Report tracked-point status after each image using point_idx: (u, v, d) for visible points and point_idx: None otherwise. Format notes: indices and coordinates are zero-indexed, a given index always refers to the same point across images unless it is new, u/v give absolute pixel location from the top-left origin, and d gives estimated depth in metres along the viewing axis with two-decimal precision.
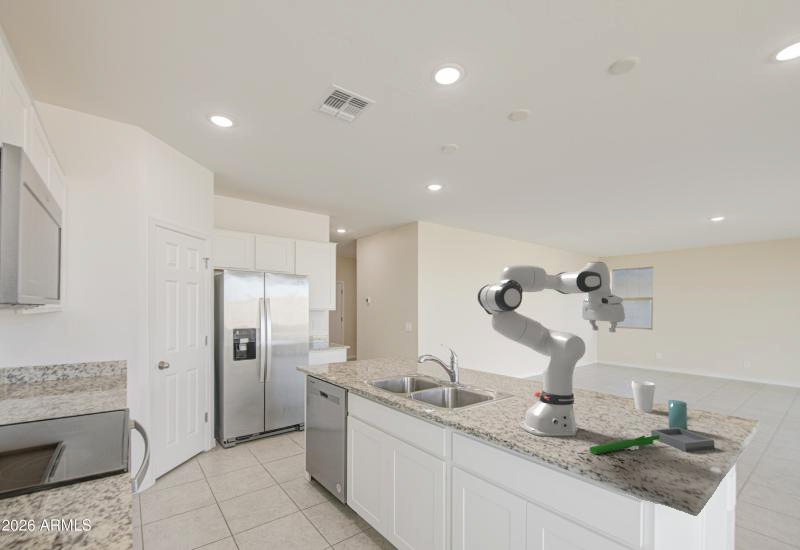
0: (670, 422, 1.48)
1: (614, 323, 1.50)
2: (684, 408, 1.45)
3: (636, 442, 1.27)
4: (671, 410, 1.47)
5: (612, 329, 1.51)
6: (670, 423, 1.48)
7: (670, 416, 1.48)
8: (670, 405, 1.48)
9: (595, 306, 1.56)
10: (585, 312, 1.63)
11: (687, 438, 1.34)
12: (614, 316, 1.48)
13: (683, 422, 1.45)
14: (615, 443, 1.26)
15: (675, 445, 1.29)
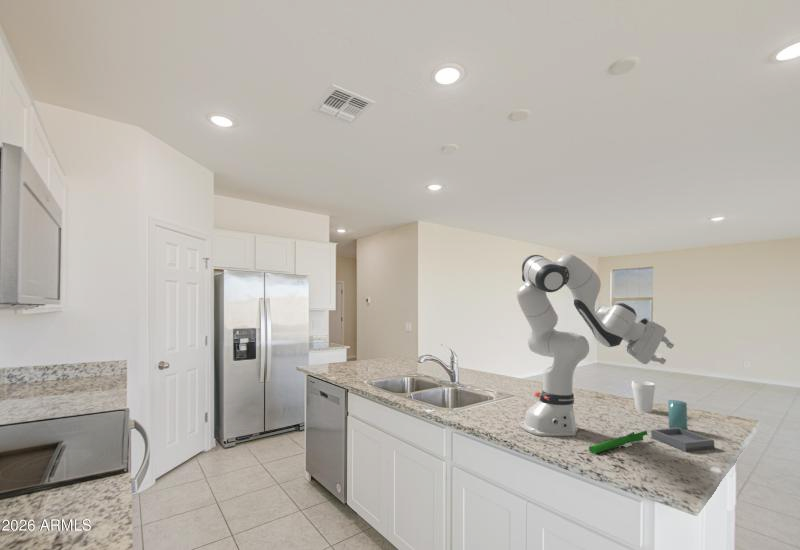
0: (670, 422, 1.48)
1: None
2: (684, 408, 1.45)
3: (629, 439, 1.30)
4: (671, 410, 1.47)
5: None
6: (670, 423, 1.48)
7: (670, 416, 1.48)
8: (670, 405, 1.48)
9: (645, 333, 1.48)
10: (644, 352, 1.44)
11: (687, 438, 1.34)
12: (660, 328, 1.51)
13: (683, 422, 1.45)
14: (611, 441, 1.27)
15: (675, 445, 1.29)
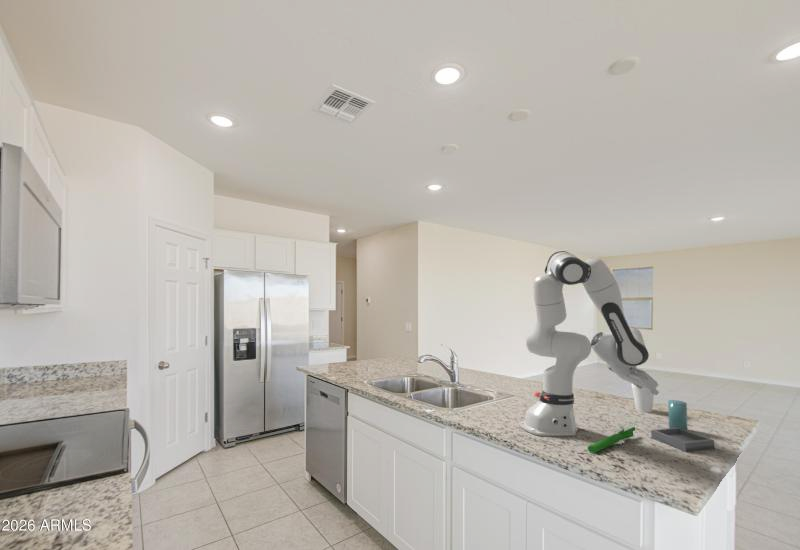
0: (670, 422, 1.48)
1: None
2: (684, 408, 1.45)
3: (622, 436, 1.33)
4: (671, 410, 1.47)
5: None
6: (670, 423, 1.48)
7: (670, 416, 1.48)
8: (670, 405, 1.48)
9: None
10: None
11: (687, 438, 1.34)
12: None
13: (683, 422, 1.45)
14: (607, 439, 1.29)
15: (675, 445, 1.29)
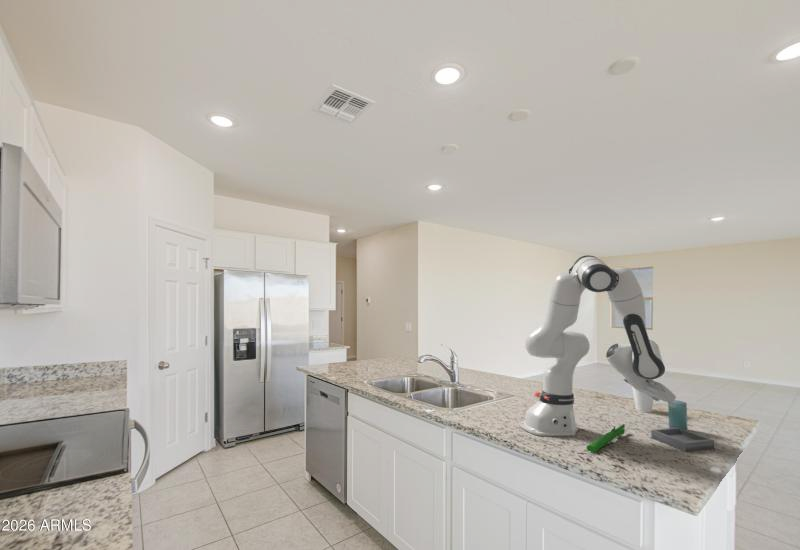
0: (670, 422, 1.48)
1: None
2: (684, 408, 1.45)
3: (615, 434, 1.35)
4: (671, 410, 1.47)
5: None
6: (670, 423, 1.48)
7: (670, 416, 1.48)
8: None
9: None
10: None
11: (687, 438, 1.34)
12: None
13: (683, 422, 1.45)
14: (603, 438, 1.30)
15: (675, 445, 1.29)
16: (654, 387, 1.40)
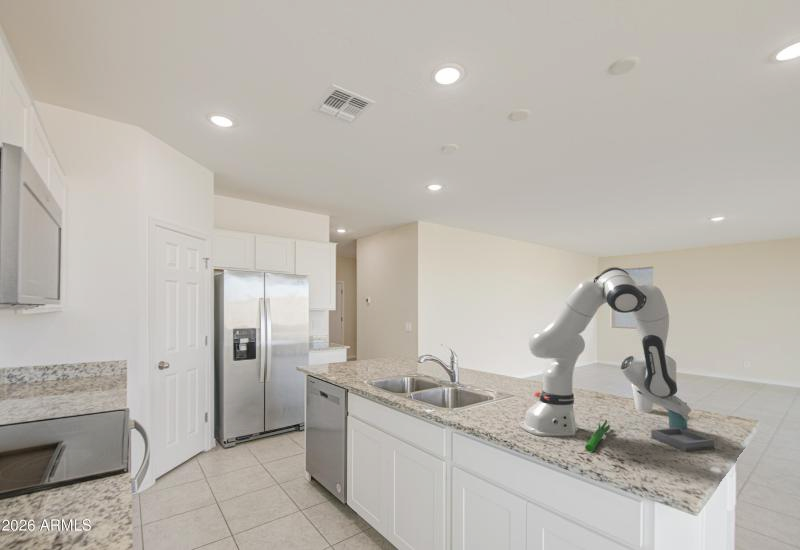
0: (670, 422, 1.48)
1: None
2: None
3: (603, 431, 1.38)
4: None
5: None
6: (670, 423, 1.48)
7: (670, 416, 1.48)
8: None
9: None
10: None
11: (687, 438, 1.34)
12: None
13: (684, 422, 1.45)
14: (596, 436, 1.32)
15: (675, 445, 1.29)
16: (670, 400, 1.41)
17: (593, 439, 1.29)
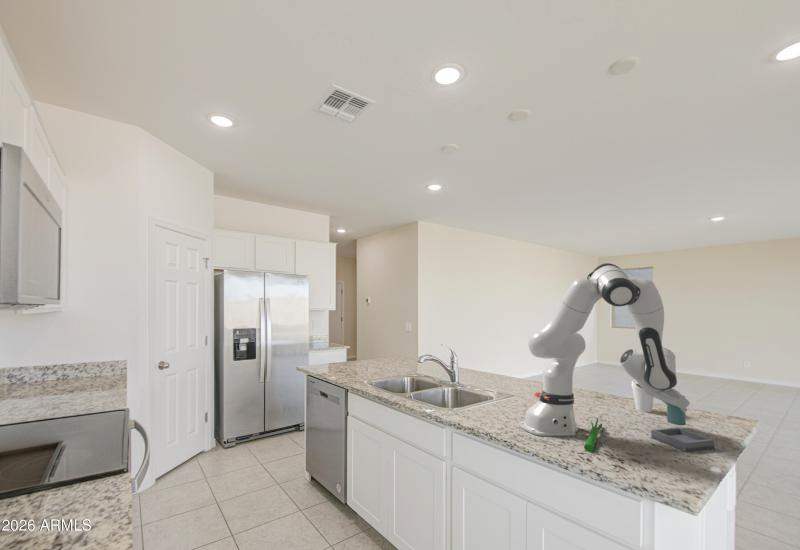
0: (668, 415, 1.49)
1: None
2: None
3: (598, 429, 1.40)
4: None
5: None
6: (668, 416, 1.49)
7: (668, 409, 1.49)
8: None
9: None
10: None
11: (687, 438, 1.34)
12: None
13: (682, 415, 1.46)
14: (593, 435, 1.33)
15: (675, 445, 1.29)
16: (668, 393, 1.41)
17: (591, 438, 1.30)
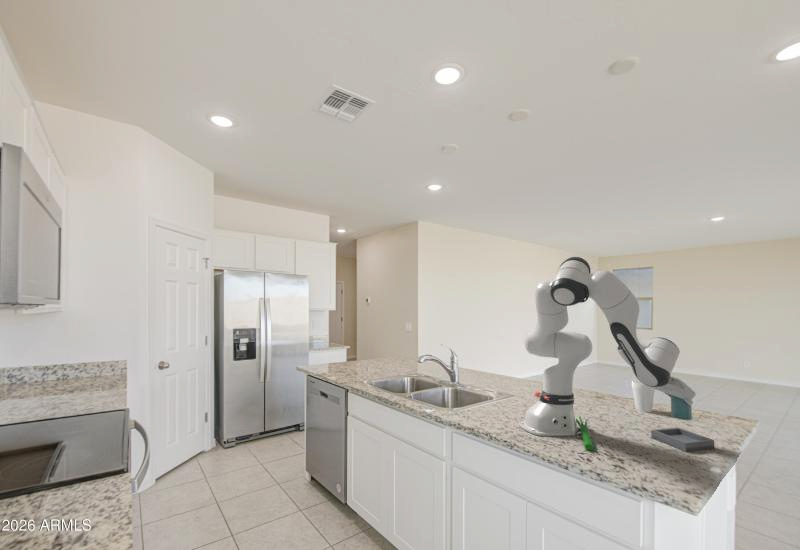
0: (672, 409, 1.34)
1: None
2: None
3: (586, 427, 1.42)
4: None
5: None
6: (672, 410, 1.34)
7: (672, 402, 1.34)
8: None
9: None
10: None
11: (687, 438, 1.34)
12: None
13: (687, 409, 1.31)
14: (587, 433, 1.34)
15: (675, 445, 1.29)
16: (671, 383, 1.27)
17: (587, 437, 1.31)
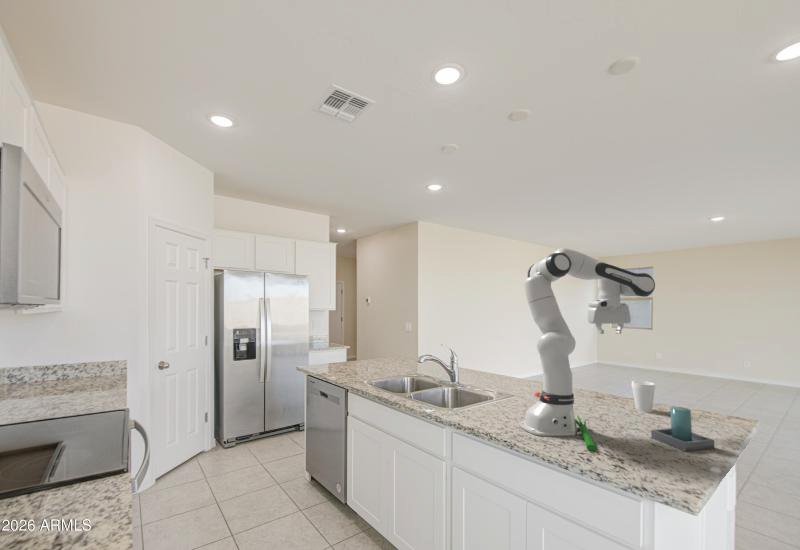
0: (672, 431, 1.34)
1: (596, 325, 1.63)
2: (688, 416, 1.31)
3: None
4: (674, 418, 1.33)
5: (598, 330, 1.63)
6: (672, 432, 1.34)
7: (672, 425, 1.34)
8: (672, 412, 1.34)
9: None
10: None
11: None
12: None
13: (687, 431, 1.31)
14: (588, 434, 1.34)
15: (675, 445, 1.29)
16: (625, 307, 1.66)
17: (589, 438, 1.31)
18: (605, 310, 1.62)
